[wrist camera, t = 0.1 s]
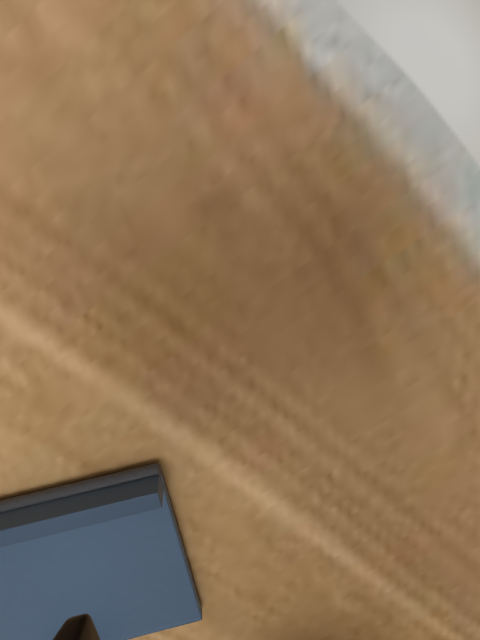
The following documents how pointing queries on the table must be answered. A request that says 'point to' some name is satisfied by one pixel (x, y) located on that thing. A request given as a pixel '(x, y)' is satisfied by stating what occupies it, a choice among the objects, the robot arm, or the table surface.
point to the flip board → (94, 559)
